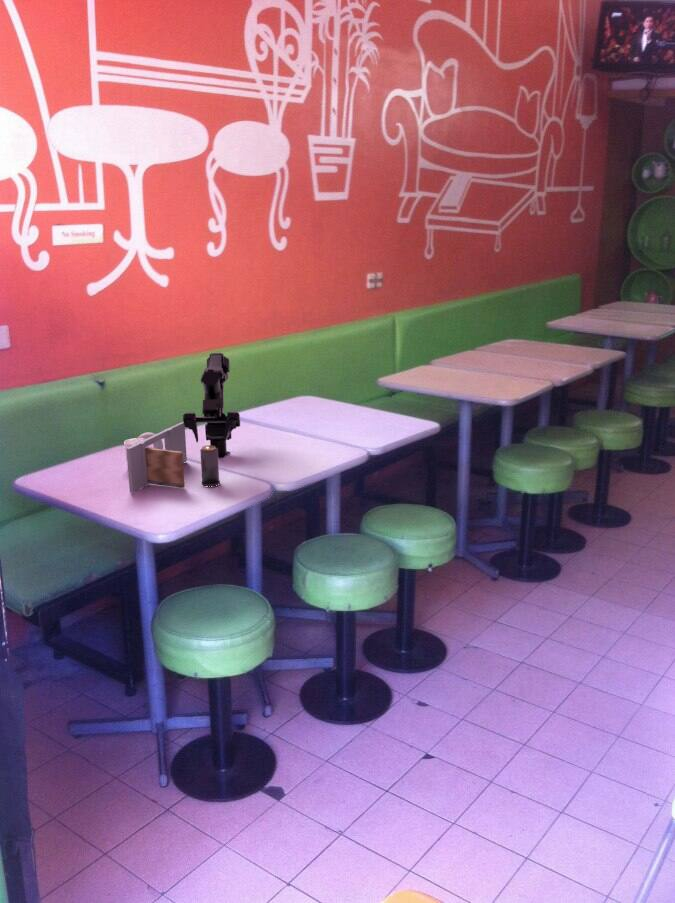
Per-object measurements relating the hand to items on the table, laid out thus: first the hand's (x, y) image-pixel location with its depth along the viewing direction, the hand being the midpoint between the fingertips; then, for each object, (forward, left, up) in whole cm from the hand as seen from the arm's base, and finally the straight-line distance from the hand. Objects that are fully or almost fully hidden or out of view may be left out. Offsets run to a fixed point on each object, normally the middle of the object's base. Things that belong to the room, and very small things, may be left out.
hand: (211, 441), depth 285 cm
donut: (-11, -31, -13) cm, 36 cm away
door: (+13, -10, -12) cm, 21 cm away
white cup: (0, -29, -13) cm, 32 cm away
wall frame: (+5, -17, -13) cm, 22 cm away
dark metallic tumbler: (+6, +2, -13) cm, 14 cm away
